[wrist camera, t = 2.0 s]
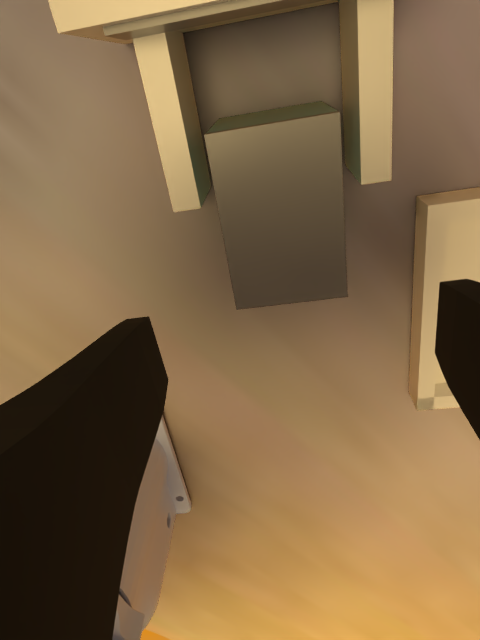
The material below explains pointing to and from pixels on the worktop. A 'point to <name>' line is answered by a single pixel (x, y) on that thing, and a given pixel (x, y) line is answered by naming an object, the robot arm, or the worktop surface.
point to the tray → (429, 270)
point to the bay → (177, 90)
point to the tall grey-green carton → (281, 203)
